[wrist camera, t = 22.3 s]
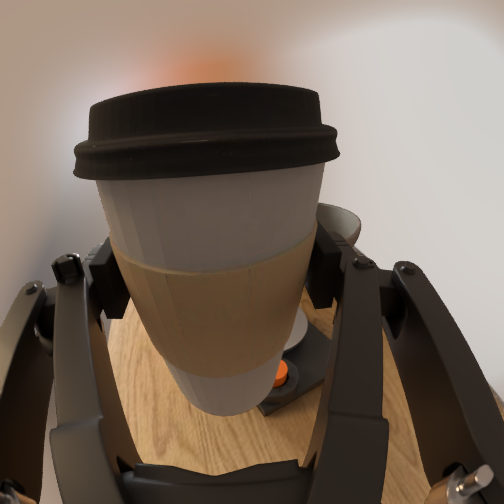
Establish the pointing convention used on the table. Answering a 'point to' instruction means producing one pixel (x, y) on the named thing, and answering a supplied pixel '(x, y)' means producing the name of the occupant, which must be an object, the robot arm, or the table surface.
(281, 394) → the scale
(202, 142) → the coffee cup
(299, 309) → the scale pan
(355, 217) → the bowl
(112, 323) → the table surface
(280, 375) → the tare button
